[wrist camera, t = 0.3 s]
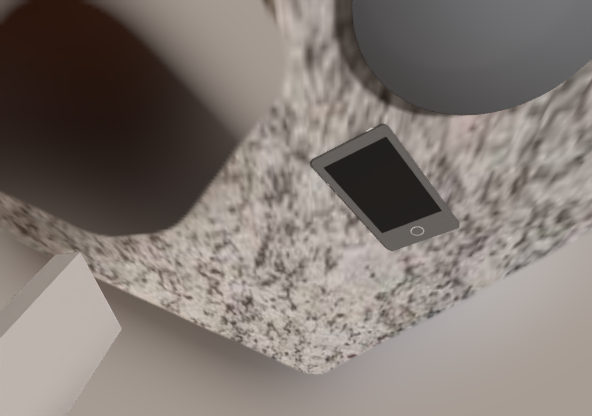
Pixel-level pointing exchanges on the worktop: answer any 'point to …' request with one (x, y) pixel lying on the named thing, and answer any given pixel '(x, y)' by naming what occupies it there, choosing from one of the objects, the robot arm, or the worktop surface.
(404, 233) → the smartphone
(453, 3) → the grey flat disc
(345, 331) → the worktop surface
